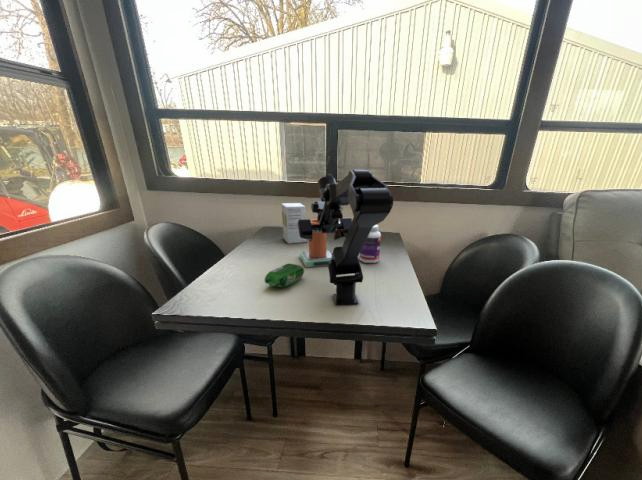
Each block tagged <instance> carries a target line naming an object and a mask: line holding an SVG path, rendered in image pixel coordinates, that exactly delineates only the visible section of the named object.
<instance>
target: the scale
mask: <svg viewBox="0 0 642 480" xmlns="http://www.w3.org/2000/svg"><path fill="white" fill-rule="evenodd" d="M331 257H332V253H331V252H330V251H329V250H328V249H327V253H326V256H323V257H313V256H310V255H309V250H303V251H299V258H300V260H301V261H302V263H303V264H304V266H305V268H313V267H315V268H316V267H325V266H327V267H328V265H329V260H331Z"/></svg>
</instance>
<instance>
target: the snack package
mask: <svg viewBox="0 0 642 480" xmlns="http://www.w3.org/2000/svg"><path fill="white" fill-rule="evenodd" d="M304 274H305V269H304V267H303V266H302V265H300V264H295V263H286V264H284V265H281V266H280V267H277V268H275V269H273V270H271V271H269V272H268V273H267V274H266V275H265V276H264V283H265V284H268V285H269V286H271V287H276V288H287V287H288V286H291V285H292V284H294V283H296V282H297V281H300V280H301V279H302V278H303V276H304Z"/></svg>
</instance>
